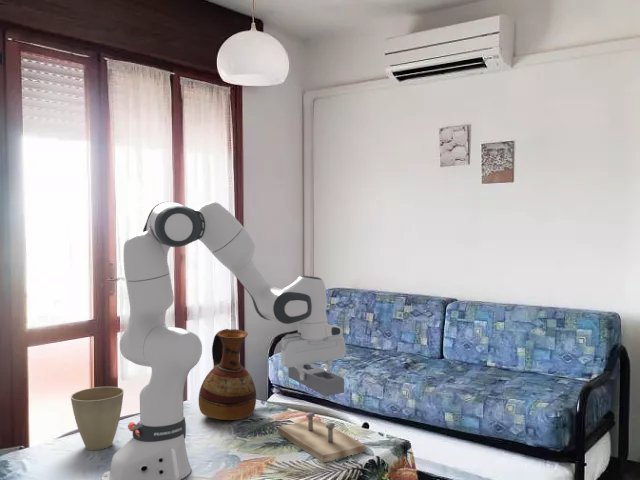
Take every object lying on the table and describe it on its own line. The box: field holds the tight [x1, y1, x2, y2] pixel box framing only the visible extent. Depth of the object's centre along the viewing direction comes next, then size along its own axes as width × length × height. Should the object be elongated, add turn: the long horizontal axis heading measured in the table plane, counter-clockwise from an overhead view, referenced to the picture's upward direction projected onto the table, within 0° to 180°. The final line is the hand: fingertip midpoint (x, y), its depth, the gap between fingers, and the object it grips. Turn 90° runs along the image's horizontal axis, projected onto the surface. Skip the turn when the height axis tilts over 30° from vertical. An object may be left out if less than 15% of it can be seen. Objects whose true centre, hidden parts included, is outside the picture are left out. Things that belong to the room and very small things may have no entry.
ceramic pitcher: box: [198, 328, 257, 421], centre depth 203 cm, size 20×20×30 cm
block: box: [287, 363, 345, 397], centre depth 173 cm, size 6×23×4 cm, turn 29°
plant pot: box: [70, 386, 124, 451], centre depth 177 cm, size 15×15×16 cm
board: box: [277, 411, 367, 464], centre depth 176 cm, size 14×28×7 cm, turn 30°
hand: (314, 377), depth 173 cm, fingers closed on block, 6 cm apart
